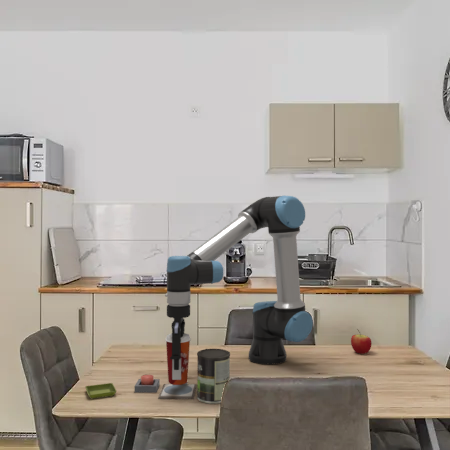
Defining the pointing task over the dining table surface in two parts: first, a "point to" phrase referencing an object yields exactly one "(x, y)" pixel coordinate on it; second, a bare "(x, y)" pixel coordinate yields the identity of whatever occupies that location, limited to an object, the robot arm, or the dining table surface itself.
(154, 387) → the button housing
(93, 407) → the dining table surface
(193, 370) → the dining table surface
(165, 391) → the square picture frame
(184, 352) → the coffee cup
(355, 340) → the apple
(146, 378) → the button
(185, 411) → the dining table surface
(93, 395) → the green rectangular tray
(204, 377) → the coffee can
